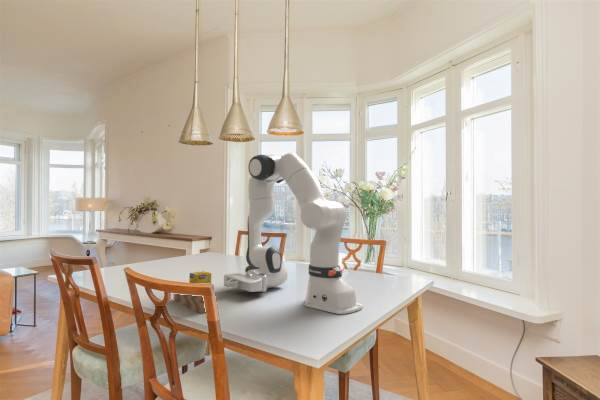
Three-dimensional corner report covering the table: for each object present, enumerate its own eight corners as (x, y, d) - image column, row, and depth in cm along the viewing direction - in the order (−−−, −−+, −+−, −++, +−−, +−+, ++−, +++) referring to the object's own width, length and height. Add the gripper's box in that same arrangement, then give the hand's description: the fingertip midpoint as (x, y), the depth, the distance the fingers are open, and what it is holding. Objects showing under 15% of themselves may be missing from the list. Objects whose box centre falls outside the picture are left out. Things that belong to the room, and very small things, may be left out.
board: (208, 312, 118) (208, 294, 118) (200, 313, 116) (200, 296, 116) (181, 298, 134) (181, 282, 134) (173, 299, 132) (174, 283, 132)
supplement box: (197, 305, 126) (198, 275, 126) (188, 302, 130) (189, 272, 130) (211, 302, 130) (211, 272, 130) (202, 298, 134) (202, 270, 134)
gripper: (241, 268, 154) (212, 272, 145) (269, 276, 139) (239, 281, 130) (240, 282, 154) (212, 287, 145) (268, 292, 139) (239, 298, 130)
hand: (225, 284), depth 137 cm, fingers closed
